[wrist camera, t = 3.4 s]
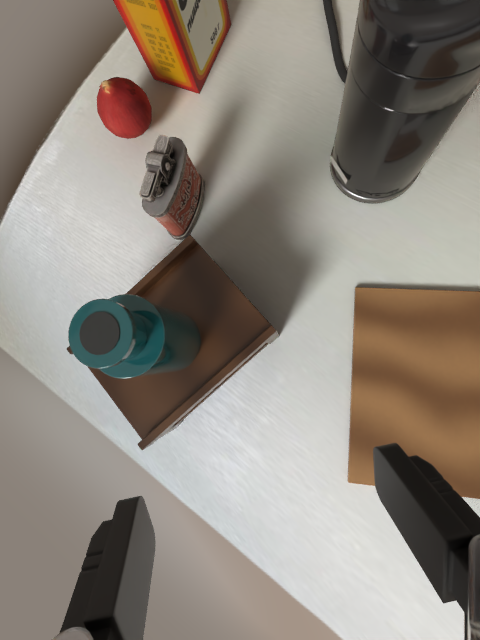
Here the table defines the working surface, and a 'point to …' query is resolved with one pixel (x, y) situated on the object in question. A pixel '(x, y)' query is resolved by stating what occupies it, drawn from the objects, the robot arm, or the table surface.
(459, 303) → the placemat
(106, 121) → the onion
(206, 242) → the table surface
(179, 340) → the vase
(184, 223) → the lighter
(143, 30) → the baking soda box
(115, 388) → the rack
